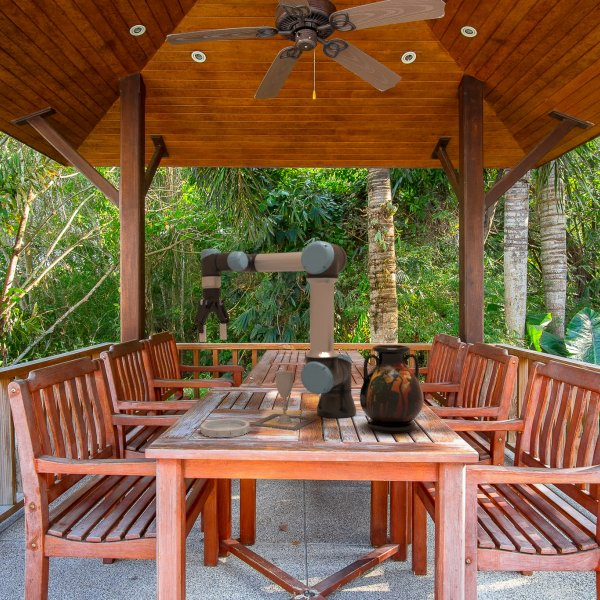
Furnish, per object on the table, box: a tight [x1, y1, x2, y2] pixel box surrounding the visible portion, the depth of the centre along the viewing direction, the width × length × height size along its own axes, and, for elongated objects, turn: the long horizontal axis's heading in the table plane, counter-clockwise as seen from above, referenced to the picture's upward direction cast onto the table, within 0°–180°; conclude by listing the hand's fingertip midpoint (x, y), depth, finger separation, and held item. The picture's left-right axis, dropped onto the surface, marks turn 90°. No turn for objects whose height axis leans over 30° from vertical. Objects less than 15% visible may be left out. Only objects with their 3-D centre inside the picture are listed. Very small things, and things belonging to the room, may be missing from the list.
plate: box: [199, 418, 250, 438], centre depth 172 cm, size 16×16×2 cm
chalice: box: [274, 370, 295, 425], centre depth 185 cm, size 7×7×18 cm
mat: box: [250, 413, 318, 431], centre depth 185 cm, size 18×18×1 cm
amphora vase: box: [359, 344, 425, 434], centre depth 176 cm, size 22×22×28 cm
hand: (213, 340), depth 206 cm, fingers open, 13 cm apart
